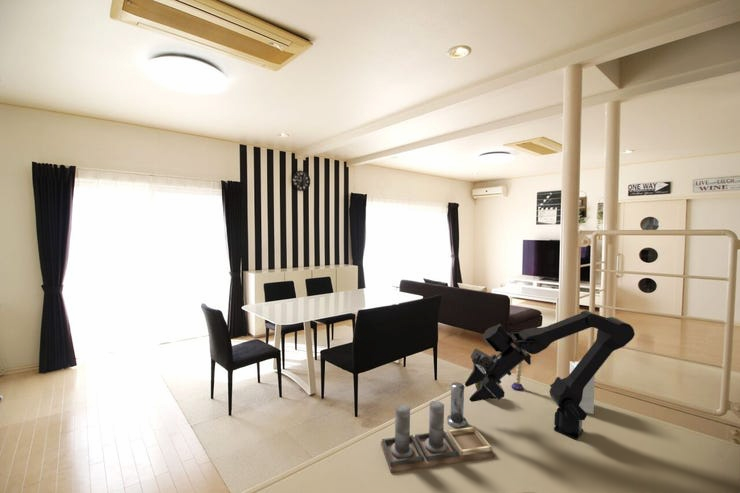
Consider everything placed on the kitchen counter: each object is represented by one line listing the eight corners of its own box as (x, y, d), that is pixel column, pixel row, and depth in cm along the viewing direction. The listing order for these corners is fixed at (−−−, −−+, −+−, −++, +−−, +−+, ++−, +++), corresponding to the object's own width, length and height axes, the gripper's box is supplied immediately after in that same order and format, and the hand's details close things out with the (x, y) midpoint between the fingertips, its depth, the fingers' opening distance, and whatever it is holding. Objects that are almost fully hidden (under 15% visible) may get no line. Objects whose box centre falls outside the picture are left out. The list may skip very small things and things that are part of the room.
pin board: (473, 431, 103) (475, 389, 102) (493, 456, 92) (495, 410, 91) (380, 444, 97) (380, 400, 96) (390, 472, 86) (391, 423, 85)
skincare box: (594, 414, 112) (596, 372, 111) (573, 411, 114) (576, 369, 112) (586, 401, 120) (588, 361, 119) (567, 398, 122) (569, 359, 120)
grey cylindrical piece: (469, 423, 107) (471, 385, 106) (459, 430, 103) (460, 392, 102) (454, 414, 112) (455, 378, 111) (443, 421, 108) (444, 384, 107)
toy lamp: (524, 386, 130) (526, 345, 129) (525, 392, 126) (527, 349, 125) (511, 384, 132) (512, 343, 131) (511, 390, 128) (513, 348, 126)
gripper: (481, 332, 113) (447, 361, 116) (494, 354, 95) (453, 389, 97) (504, 356, 113) (469, 385, 115) (522, 383, 95) (480, 417, 97)
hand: (467, 392), depth 106 cm, fingers open, 9 cm apart
